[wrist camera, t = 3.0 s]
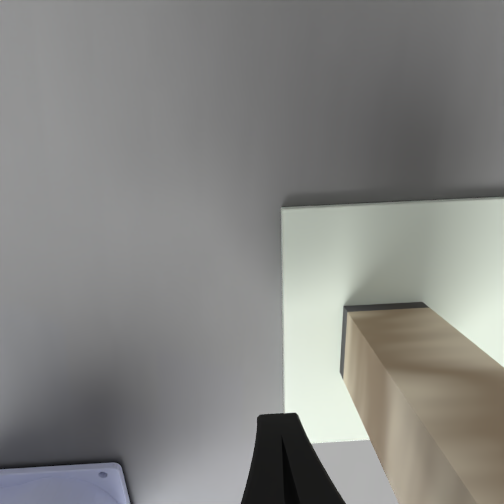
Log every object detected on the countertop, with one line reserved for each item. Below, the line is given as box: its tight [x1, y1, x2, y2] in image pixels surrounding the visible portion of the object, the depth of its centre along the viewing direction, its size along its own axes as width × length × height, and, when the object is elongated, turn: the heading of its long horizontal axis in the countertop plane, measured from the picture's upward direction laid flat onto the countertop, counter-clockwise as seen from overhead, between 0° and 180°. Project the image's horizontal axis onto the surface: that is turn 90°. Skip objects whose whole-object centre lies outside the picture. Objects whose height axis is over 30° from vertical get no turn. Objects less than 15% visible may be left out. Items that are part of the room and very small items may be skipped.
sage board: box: [281, 197, 504, 443], centre depth 16 cm, size 16×14×1 cm
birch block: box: [340, 302, 504, 504], centre depth 11 cm, size 4×4×10 cm
